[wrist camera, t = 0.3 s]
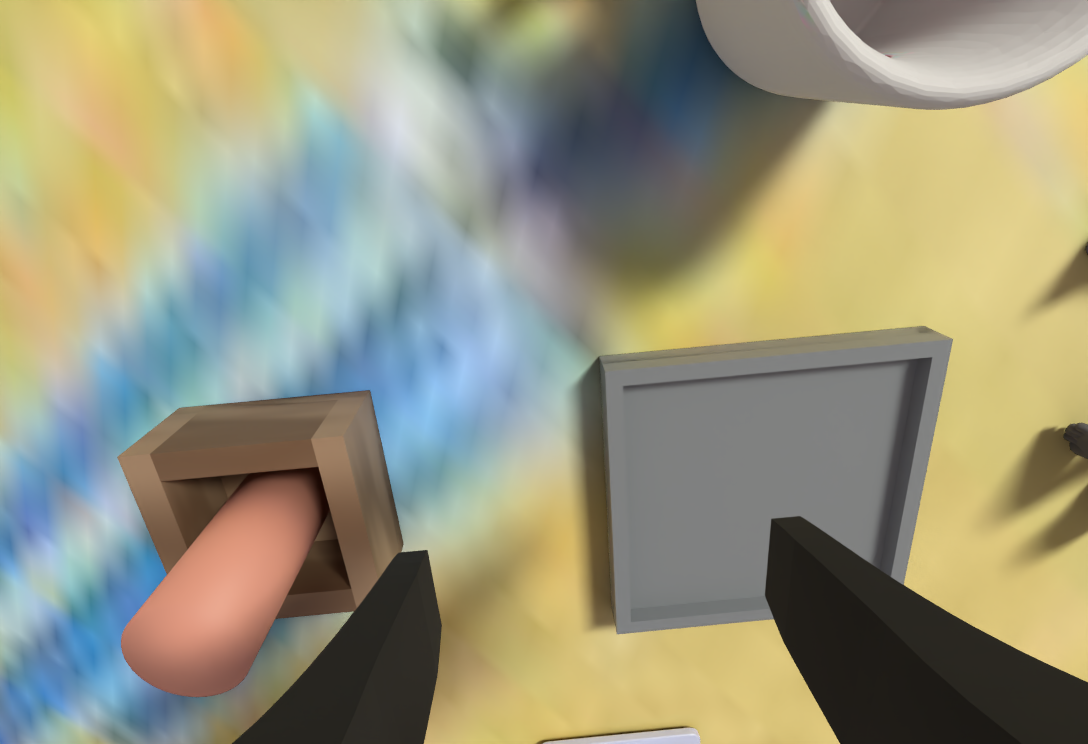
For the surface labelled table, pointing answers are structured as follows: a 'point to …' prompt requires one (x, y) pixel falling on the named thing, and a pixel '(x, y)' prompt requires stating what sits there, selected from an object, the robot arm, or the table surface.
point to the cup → (897, 47)
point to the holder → (269, 445)
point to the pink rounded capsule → (228, 586)
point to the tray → (760, 463)
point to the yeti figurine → (1078, 433)
